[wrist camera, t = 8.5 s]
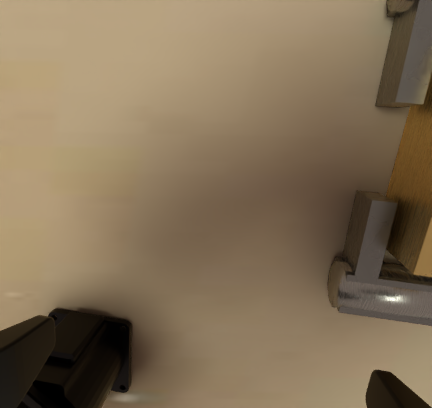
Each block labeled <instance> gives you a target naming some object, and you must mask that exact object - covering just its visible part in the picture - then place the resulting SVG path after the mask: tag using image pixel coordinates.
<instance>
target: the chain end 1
mask: <svg viewBox="0 0 432 408" xmlns="http://www.w3.org/2000/svg"><path fill="white" fill-rule="evenodd" d="M387 7H388V14H387V16H390V17H395V18H394V23H393V27H392V32H391V36H390V41H389V46H388V50H387V55H386V59H385V64H384V68H383V73H382V78H381V82H380V87H379V91H378V96H377V100H376V106H388V107H406V106H414V105H422V104H424V100H425V96H426V92H427V88H428V84H429V80H430V77H431V73H432V0H387Z"/></svg>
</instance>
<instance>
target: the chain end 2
mask: <svg viewBox="0 0 432 408" xmlns="http://www.w3.org/2000/svg"><path fill="white" fill-rule="evenodd" d="M397 204H398V203H397V202H395V201H393V200H391V199H389V198H387V197H385V196H384V195H382V194H380V193H375V192H366V191H357V192H356V196H355V201H354V206H353V210H352V215H351V219H350V224H349V228H348V233H347V238H346V242H345V247H344V251H343V256H342V257H336V258H335V262H334V263H333V264H332V266H331V268H330V272H329V277H328V296H329V301H330V304H331V305H332V307H335V308H337V309H338V311H339V312H341V313H347V314H354V315H361V316H368V317H375V318H382V319H388V320H395V321H402V322H409V323H416V324H422V325H429V326H432V277H427V276H421V275H414V274H412V273H411V272H410V271H409V270H408V269H407V268H406V267H405V266H404V265H398V264H390V263H383V258H384V254H385V250H386V247H387V243H388V239H389V235H390V231H391V227H392V223H393V220H394V216H395V212H396V208H397Z"/></svg>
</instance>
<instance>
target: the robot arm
mask: <svg viewBox="0 0 432 408" xmlns="http://www.w3.org/2000/svg"><path fill="white" fill-rule="evenodd" d="M55 315H56V316H57V317H56V316H55ZM122 326H124V327H125V328H123V327H122ZM131 330H132V326H131V323H130V322H129V321H127V320H122V319H116V318H110V317H104V316H97V315H91V314H85V313H79V312H72V311H66V310H60V309H54V310H53V311H52V312H50V313H49V315H48V316H42V315H39V316H36V317H33V318H31V319H28V320H26V321H23V322H21V323H19V324H16V325H14V326H11V327H9V328H7V329H4V330H2V331H0V408H101V407H102V405H103V403H104V401H105V400H106V398H107V396H108V394H109V392H110V390H111V391H117V392H122V393H125V392H127V391H128V390H129V388H130V385H131ZM366 405H367V408H432V407H430V406H429V405H428V404H427V403H426V402H425V401H423V400H422V399H421V398H420V397H419V396H418V395H417V394H415V393H414V392H413V391H412V390H411V389H410V388H409V387H407V386H406V385H405V384H404V383H403V382H402V381H400V380H399V379H398V378H397V377H396V376H395V375H394V374H392V373H391V372H388V371H382V370H374V371H373V372H372V374H371V377H370V381H369V384H368V388H367V392H366Z"/></svg>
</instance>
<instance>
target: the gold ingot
mask: <svg viewBox="0 0 432 408" xmlns="http://www.w3.org/2000/svg"><path fill="white" fill-rule="evenodd" d="M386 197H387V198H389V199H391V200H393V201H395V202H397V203H398V204H397V208H396V212H395V216H394V220H393V223H392V227H391V231H390V235H389V239H388V243H387V247H386V250H388V251H389V252H390V253H391V254H392V255H393V256H394V257H395V258H396V259H397V260H398V261H399V262H401V263H402V264H403V265H404V266H405V267H406V268H407V269H408V270H409V271H410V272H411V273H412V274H414V275H421V276H427V277H432V73H431V77H430V80H429V84H428V88H427V92H426V96H425V100H424V104H422V105H414V106H410V110H409V113H408V117H407V121H406V124H405V128H404V132H403V135H402V139H401V143H400V146H399V150H398V153H397V157H396V161H395V164H394V168H393V172H392V175H391V179H390V183H389V186H388V190H387V194H386Z"/></svg>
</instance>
